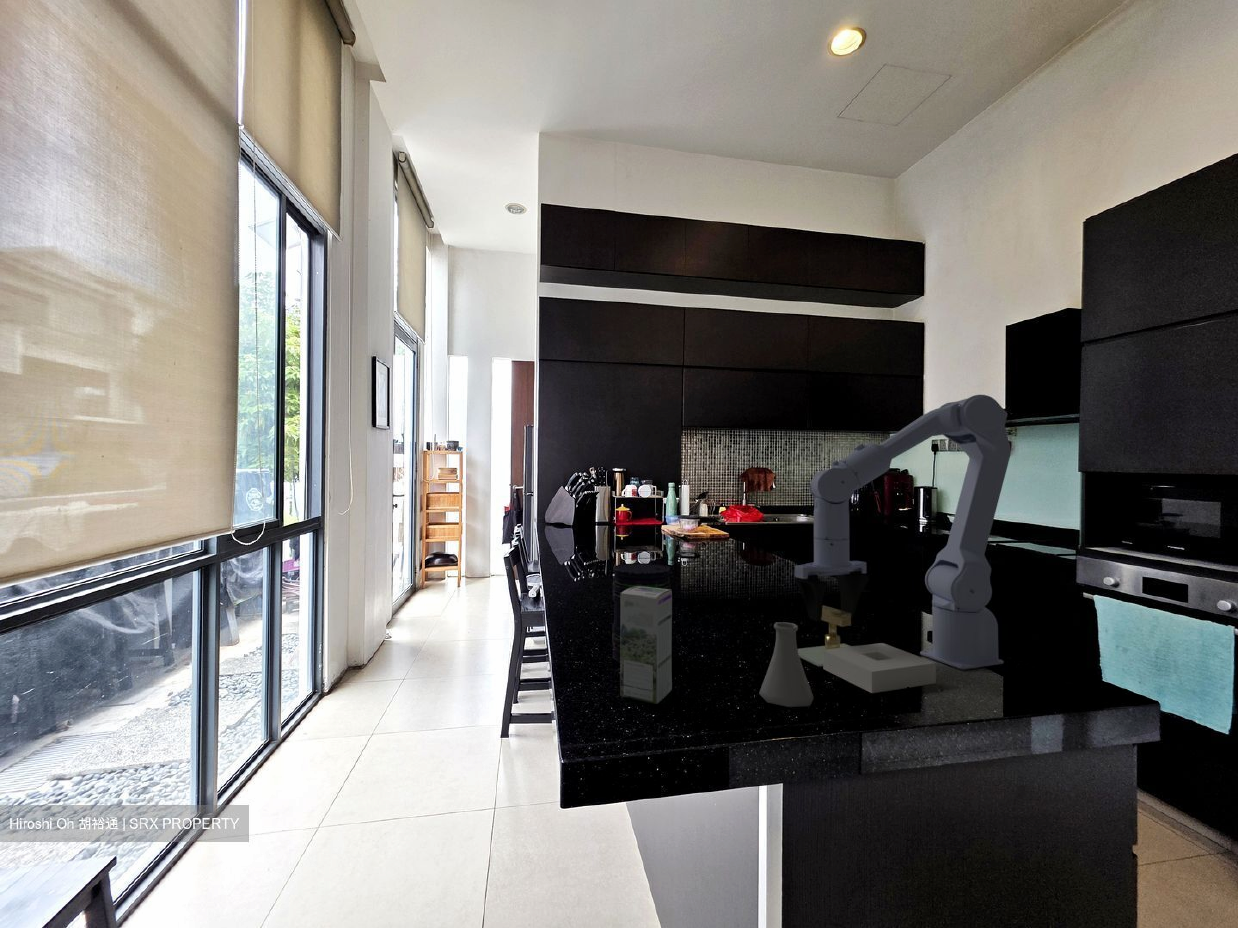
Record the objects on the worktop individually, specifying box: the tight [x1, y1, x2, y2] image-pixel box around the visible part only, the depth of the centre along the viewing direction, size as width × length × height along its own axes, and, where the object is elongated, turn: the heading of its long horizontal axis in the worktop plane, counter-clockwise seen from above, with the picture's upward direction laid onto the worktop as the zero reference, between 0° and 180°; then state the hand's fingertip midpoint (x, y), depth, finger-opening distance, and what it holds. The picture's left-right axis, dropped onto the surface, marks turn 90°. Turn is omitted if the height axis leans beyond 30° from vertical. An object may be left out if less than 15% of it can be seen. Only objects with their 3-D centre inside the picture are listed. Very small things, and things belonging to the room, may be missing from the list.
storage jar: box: [611, 562, 671, 663], centre depth 90 cm, size 10×10×15 cm
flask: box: [758, 621, 814, 708], centre depth 73 cm, size 7×7×10 cm
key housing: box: [822, 642, 937, 694], centre depth 81 cm, size 12×10×3 cm
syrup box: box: [619, 586, 673, 705], centre depth 74 cm, size 6×6×14 cm
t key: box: [821, 604, 852, 650], centre depth 90 cm, size 6×2×8 cm, turn 24°
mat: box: [797, 643, 852, 667], centre depth 90 cm, size 12×8×1 cm, turn 109°
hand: (831, 617), depth 91 cm, fingers open, 7 cm apart
